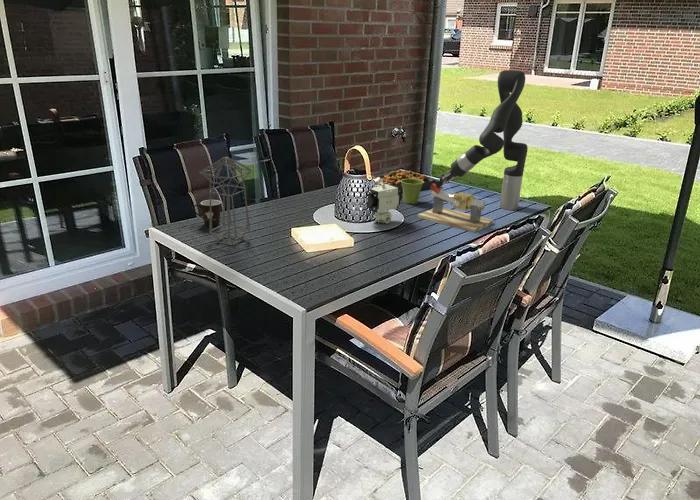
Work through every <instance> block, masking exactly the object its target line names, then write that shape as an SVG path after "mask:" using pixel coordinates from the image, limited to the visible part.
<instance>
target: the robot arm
mask: <svg viewBox="0 0 700 500" xmlns="http://www.w3.org/2000/svg"><path fill="white" fill-rule="evenodd" d="M525 84H526V74H525V72H524V71H521V70H501V71H500V72H499V74H498V75H497V90H498V94H499V95H498V96H499V100H500V104H498V105H497V106H496V107H495V109H494V110H493V111H492V113H491V116H490V120H489V123H488V124H487V126H485V128H484V130H483V131H482V132H481V133H480V135H479V139H478V141H479V144H480V145H479V144H475V145H472V146H471V147H470V148H469V149H468V150H467V151H465V152H464V153H462V154H461V155H460V156H459V157H458V158H456V159H455V160H454V161H453V162H452V163H451V164H450V169H448V170H447V171H446V173H445V174H442V175H441V176H440V178H439V180H438V181H439V182H438V183H436V186H437V188H441V187H442V186H444V184H447V183H448V182H451V181H452V180H454V179H455V178H457V177H459V178H462V177H464V176H465V175H466V174H467V173H469V172H470V171H471V170H472V169H474V167H476V165H477V164H478V163H480V162H481V161H482V160H484V159H486V158H488V157H491V156H493V155H496V154H497V153H499V152H500V151H501V150H503V158H504V160H506V161H510V162H516V165H512V166H507V167H506V168H504V171H503V178H502V185H501V193H500V200H499V208H500V209H503V210H508V211H513V210H514V211H515V210H518V209H519V204H520V203H519V202H520V196H521V190H522V182H523V177H524V172H525V171H524V170H525V165H526V160H527V154H528V150H529V149H528V144H527V143H523V142H517V141H513V138H514V136H515V135H517V133H518V132H519V131H520V130H521V128H522V126H523V112H522V108H521V107H520V106H519V104H518V103H517V102H518V100H519V97H520V96H521V95H522V92H523V90H524V87H525ZM501 133H502V134H503V138H502V137H501V136H499V135H498V134H501Z"/></svg>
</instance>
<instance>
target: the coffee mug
mask: <svg viewBox="0 0 700 500" xmlns="http://www.w3.org/2000/svg"><path fill="white" fill-rule="evenodd" d="M221 206H222V202H221V201H220V200H218V199H211V212H212V228H213V227H218V226H220V225H221V224H220V223H221ZM195 207H199V208H200V210H201V213H202V214H199V213H198V212H196V211H195ZM192 211H193V212H194V214H196V215H197V216H198V217H200V218H202V219H203V223H204V226H205V227H209V228H210V199H207V200H206V199H205V200H202V201H201V202H200V204H195V205H193V206H192Z"/></svg>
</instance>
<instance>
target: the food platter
mask: <svg viewBox="0 0 700 500" xmlns="http://www.w3.org/2000/svg"><path fill="white" fill-rule="evenodd" d="M361 169H362V170H364V168H363V167H362V168H361ZM370 172H371V174H370V175H372V177H373V180H374V181H375V183H376V186H382V184H385V185H389V184H390V185H393V186H395V187H398V188H400V191H401V193H402V194H403V187H402V182H401V180H402V179H418V180H422V181H424V183H423V184H422V187H421V191H423V190H424V191H425V190H431V189H430V187H431V185H432V184H433V183H434V184H436V183H438V182H439V181H440V180H438V179H435V178H433V177H431V176H428V175H425V174H422V173H419V172H416V171H412V170H411V169H410V170H407V169H405V170H401V169H398V170H391V171H390V172H389V174H388V173H387V174H383V175H381V174H380V175H374V173H372V171H370Z"/></svg>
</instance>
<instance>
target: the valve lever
mask: <svg viewBox="0 0 700 500" xmlns="http://www.w3.org/2000/svg"><path fill="white" fill-rule="evenodd" d="M429 190H431V192H432V191H434V192H435V193H437V194H440V195H441V196H442V197H444V198H445V199H446V200H448V201H449V202H451V203H452V204H453V205H454V207H459V206H460V202H459V201H458V200H457V201H456V200H455V199H454V198H452V197H451V196H449V195H448V194H447V193H448V192H446V193H445V191H444V190H443V188H441V187H440V188H437V186H436V184H434V183H433V184H432V185H431V187H430V189H429ZM453 205H452V206H453Z"/></svg>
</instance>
